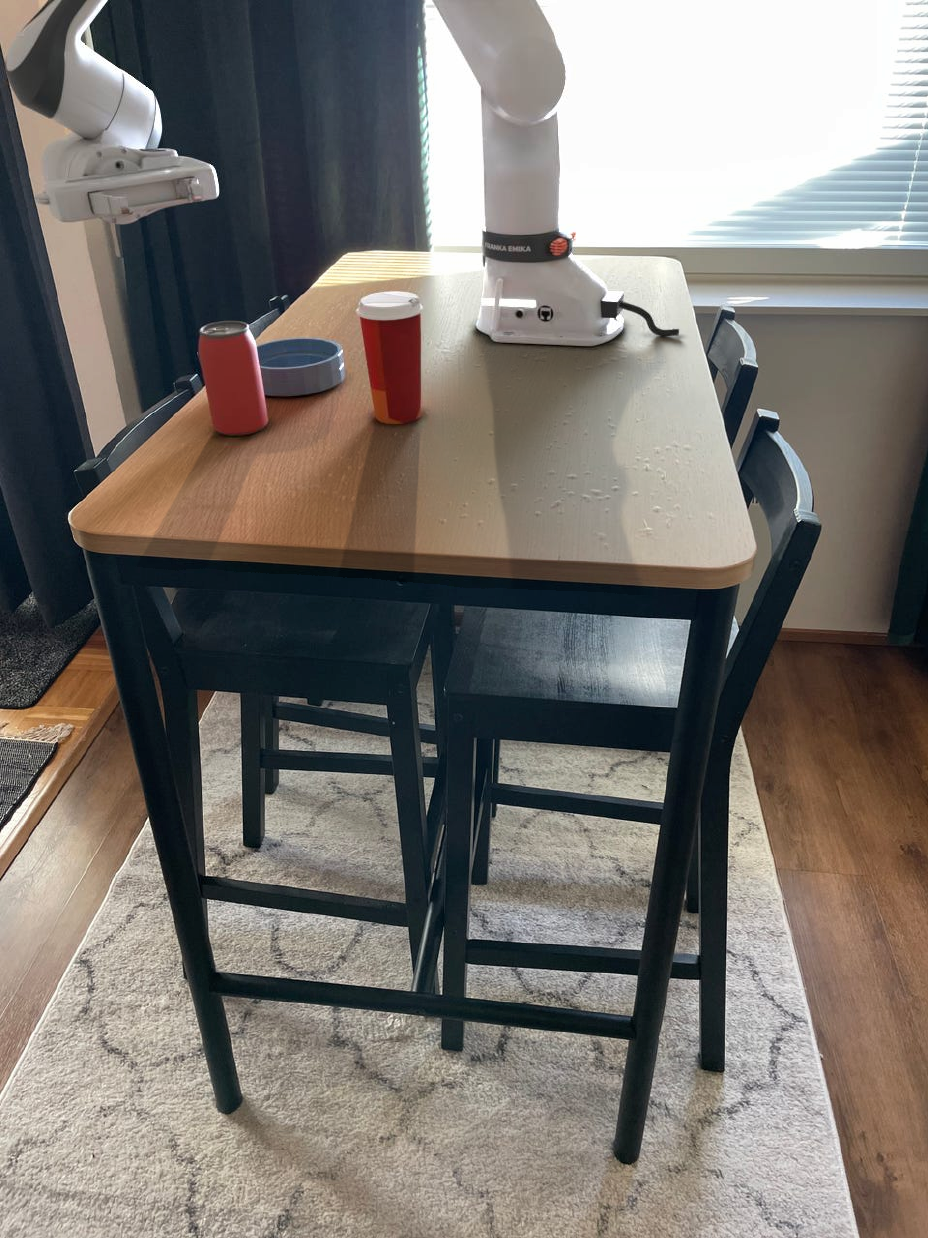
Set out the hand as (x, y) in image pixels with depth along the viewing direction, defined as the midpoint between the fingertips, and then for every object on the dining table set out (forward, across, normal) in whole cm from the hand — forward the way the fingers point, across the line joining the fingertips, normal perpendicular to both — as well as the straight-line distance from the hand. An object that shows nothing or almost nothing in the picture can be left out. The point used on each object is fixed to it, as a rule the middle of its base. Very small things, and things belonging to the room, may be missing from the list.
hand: (161, 199), depth 106 cm
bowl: (+3, +12, +24) cm, 27 cm away
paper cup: (+23, +15, +24) cm, 36 cm away
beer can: (+13, -1, +24) cm, 27 cm away
